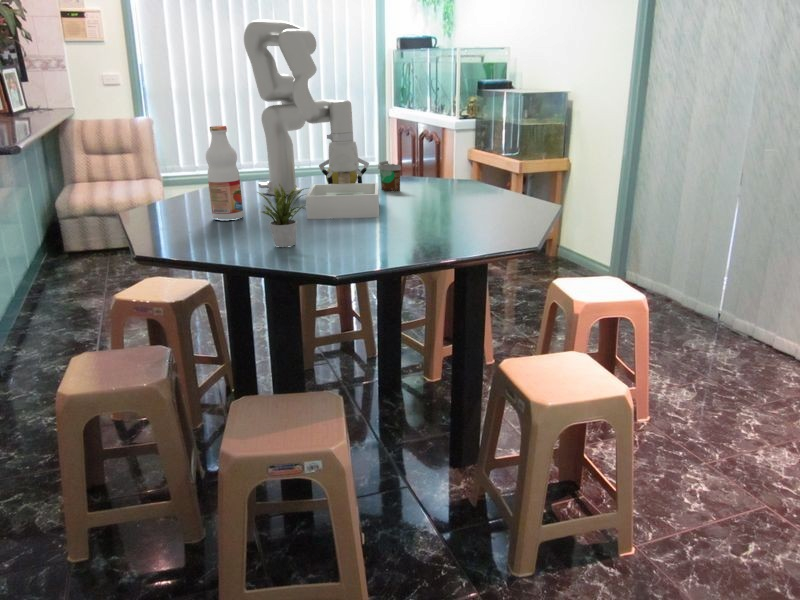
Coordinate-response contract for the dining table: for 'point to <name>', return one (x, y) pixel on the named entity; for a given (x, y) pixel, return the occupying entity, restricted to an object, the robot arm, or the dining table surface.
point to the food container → (389, 176)
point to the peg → (344, 177)
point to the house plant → (283, 218)
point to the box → (343, 201)
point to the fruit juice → (223, 176)
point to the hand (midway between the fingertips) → (345, 188)
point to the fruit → (335, 177)
